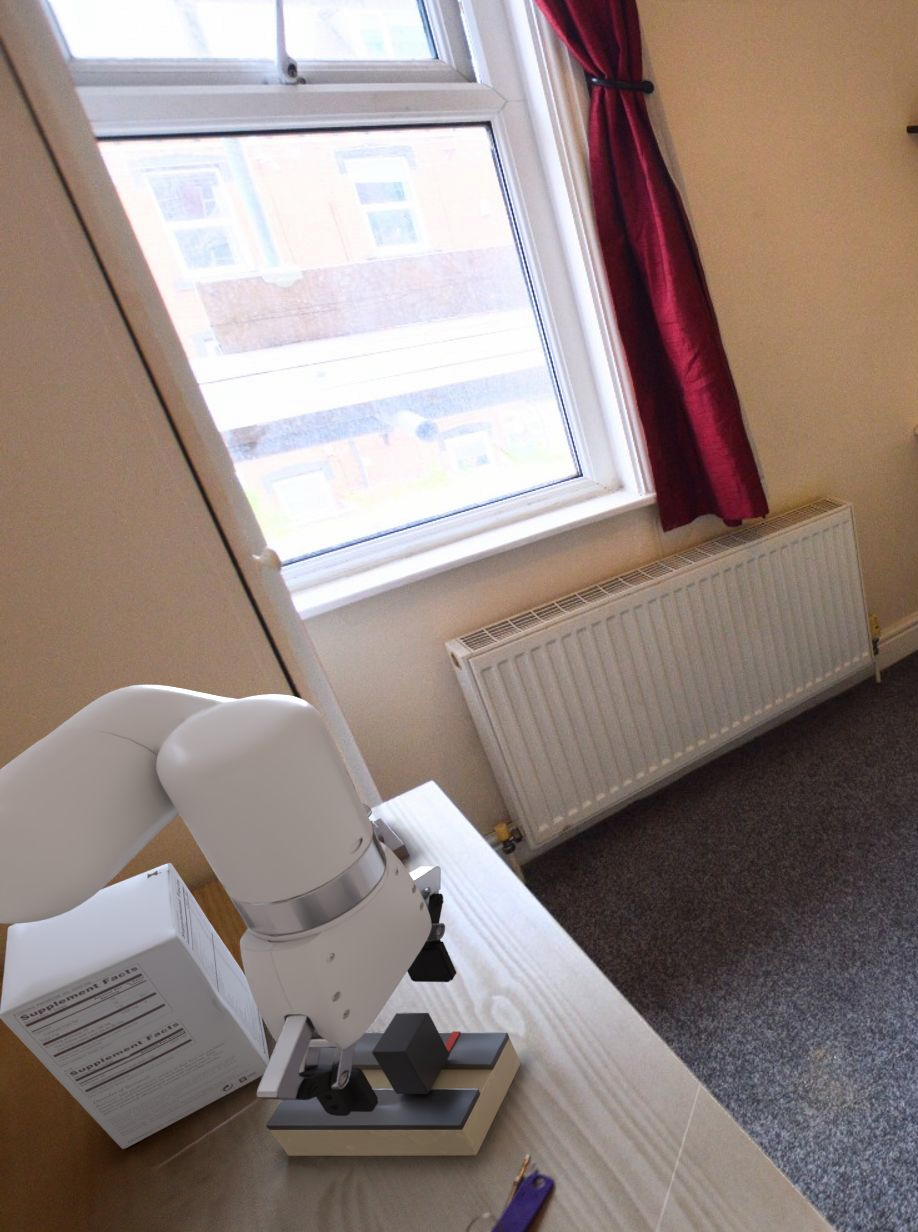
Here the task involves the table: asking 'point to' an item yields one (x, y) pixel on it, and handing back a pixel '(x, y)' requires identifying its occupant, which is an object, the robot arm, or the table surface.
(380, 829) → the button block
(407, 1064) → the slider
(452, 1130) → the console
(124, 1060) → the supplement box
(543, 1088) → the table surface
